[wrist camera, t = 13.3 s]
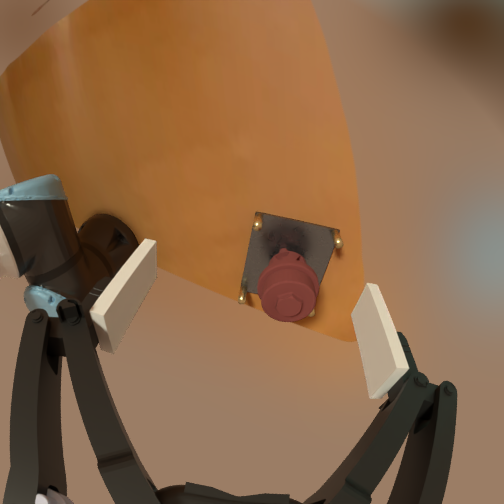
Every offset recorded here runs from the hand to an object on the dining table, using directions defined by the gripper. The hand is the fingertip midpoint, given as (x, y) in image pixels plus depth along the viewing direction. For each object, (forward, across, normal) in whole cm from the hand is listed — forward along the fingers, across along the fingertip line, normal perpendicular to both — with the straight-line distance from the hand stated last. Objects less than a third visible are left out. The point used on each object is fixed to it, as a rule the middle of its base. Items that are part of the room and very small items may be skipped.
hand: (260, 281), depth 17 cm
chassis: (+31, +6, -17) cm, 36 cm away
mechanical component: (+30, +7, -17) cm, 35 cm away
